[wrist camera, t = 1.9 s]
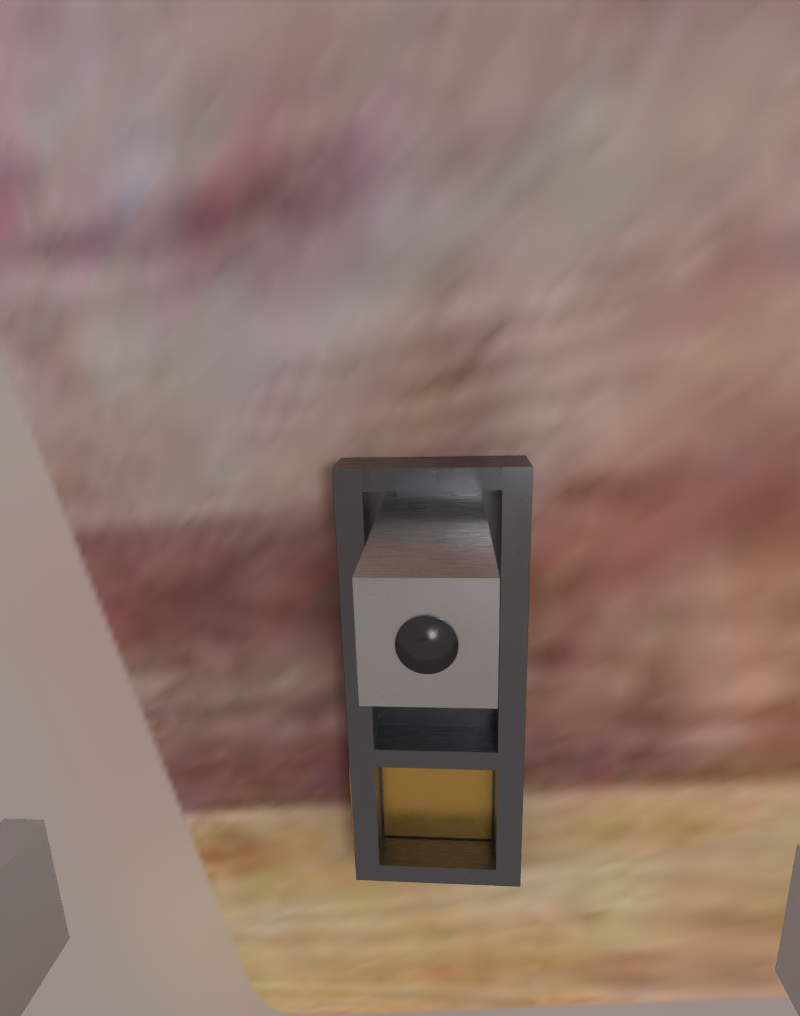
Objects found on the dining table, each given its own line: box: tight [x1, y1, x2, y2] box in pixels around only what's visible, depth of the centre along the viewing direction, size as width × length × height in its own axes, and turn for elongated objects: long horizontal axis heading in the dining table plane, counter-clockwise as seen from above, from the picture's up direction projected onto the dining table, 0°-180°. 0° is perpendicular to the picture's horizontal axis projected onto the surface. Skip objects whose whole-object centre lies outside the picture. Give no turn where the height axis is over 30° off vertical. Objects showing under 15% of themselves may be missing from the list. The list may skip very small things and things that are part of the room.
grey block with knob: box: [352, 496, 500, 709], centre depth 24 cm, size 4×4×10 cm
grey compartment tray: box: [332, 456, 533, 887], centre depth 30 cm, size 22×9×2 cm, turn 2°
